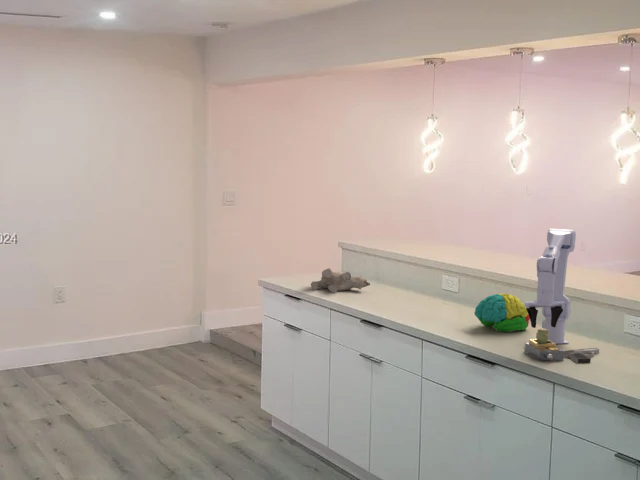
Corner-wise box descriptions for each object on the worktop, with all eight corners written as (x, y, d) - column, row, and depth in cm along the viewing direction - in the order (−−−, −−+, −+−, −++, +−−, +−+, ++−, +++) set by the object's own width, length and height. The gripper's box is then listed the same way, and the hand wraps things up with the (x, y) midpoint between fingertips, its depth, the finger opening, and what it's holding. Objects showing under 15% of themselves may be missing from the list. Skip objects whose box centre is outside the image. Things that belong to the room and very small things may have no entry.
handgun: (618, 361, 266) (594, 352, 278) (618, 355, 266) (595, 347, 277) (578, 365, 260) (556, 356, 271) (578, 359, 260) (556, 350, 271)
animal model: (348, 260, 372) (366, 258, 386) (306, 275, 388) (324, 273, 402) (356, 287, 370) (374, 285, 384) (313, 302, 386) (331, 299, 400)
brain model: (492, 335, 296) (496, 298, 295) (464, 325, 313) (467, 290, 312) (538, 333, 306) (542, 297, 305) (508, 323, 323) (511, 289, 322)
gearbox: (524, 351, 274) (525, 338, 274) (547, 351, 276) (548, 338, 275) (542, 362, 260) (543, 349, 259) (566, 362, 262) (567, 348, 261)
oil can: (534, 344, 272) (535, 328, 271) (544, 343, 272) (544, 328, 272) (542, 348, 266) (543, 332, 266) (552, 347, 267) (552, 331, 267)
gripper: (531, 292, 263) (529, 330, 264) (569, 291, 265) (567, 329, 267) (522, 288, 269) (520, 325, 271) (560, 288, 272) (558, 324, 273)
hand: (543, 327), depth 269 cm, fingers open, 7 cm apart
